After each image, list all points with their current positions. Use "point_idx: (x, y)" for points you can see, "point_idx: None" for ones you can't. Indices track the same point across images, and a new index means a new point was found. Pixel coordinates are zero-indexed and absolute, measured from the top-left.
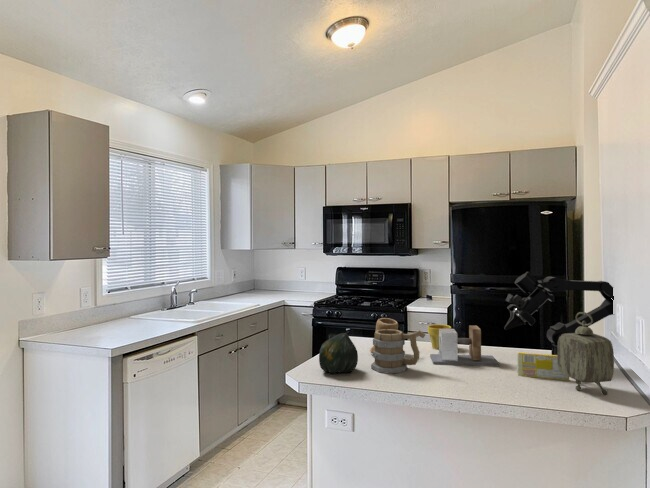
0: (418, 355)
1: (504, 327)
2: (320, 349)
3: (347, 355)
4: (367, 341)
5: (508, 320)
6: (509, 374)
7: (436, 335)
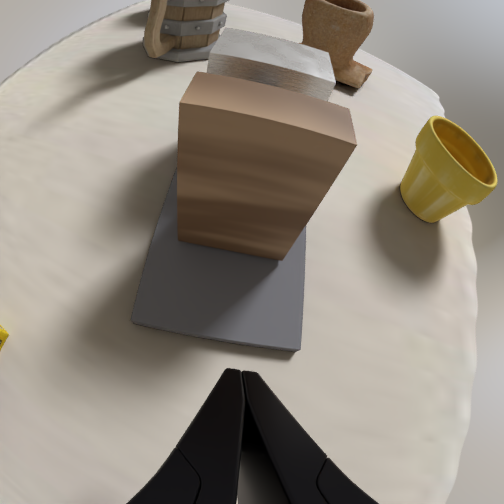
0: (144, 37)
1: (246, 373)
2: None
3: None
4: (416, 93)
5: (322, 464)
6: (14, 296)
7: (416, 140)
